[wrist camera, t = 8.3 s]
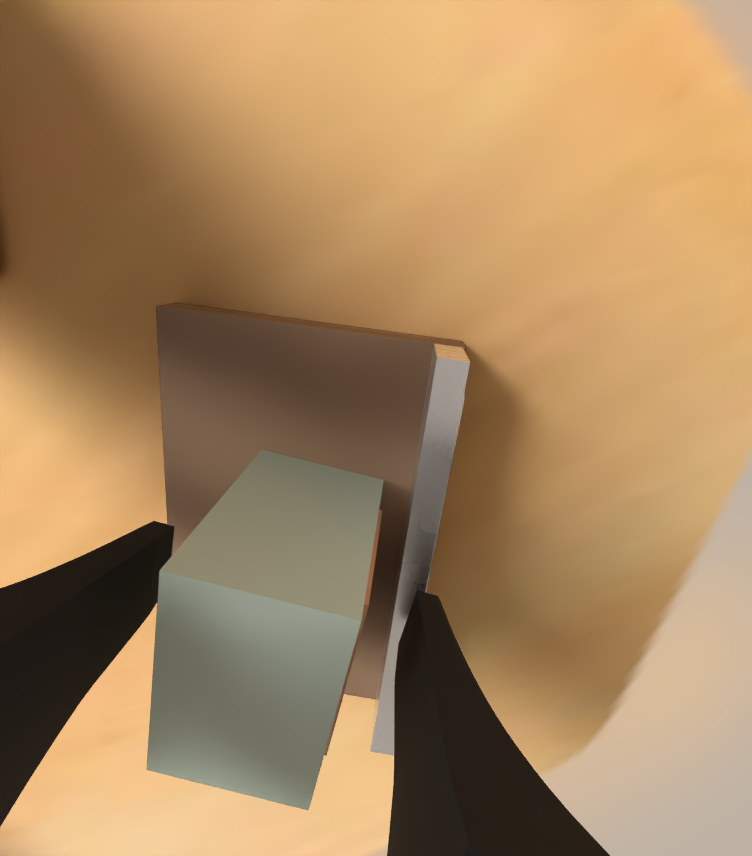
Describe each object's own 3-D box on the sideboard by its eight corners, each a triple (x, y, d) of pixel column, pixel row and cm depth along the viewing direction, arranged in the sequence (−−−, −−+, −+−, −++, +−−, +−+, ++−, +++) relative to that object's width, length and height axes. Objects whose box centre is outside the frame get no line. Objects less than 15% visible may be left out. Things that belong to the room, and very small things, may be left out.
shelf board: (177, 302, 14) (155, 306, 13) (462, 341, 14) (466, 347, 13) (189, 641, 19) (174, 665, 18) (399, 676, 19) (398, 703, 17)
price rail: (434, 343, 13) (437, 357, 11) (466, 347, 13) (474, 362, 11) (375, 699, 17) (370, 751, 16) (398, 703, 17) (396, 756, 16)
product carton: (239, 596, 16) (146, 769, 11) (261, 449, 14) (159, 570, 9) (350, 623, 16) (314, 812, 11) (388, 480, 14) (369, 622, 9)
